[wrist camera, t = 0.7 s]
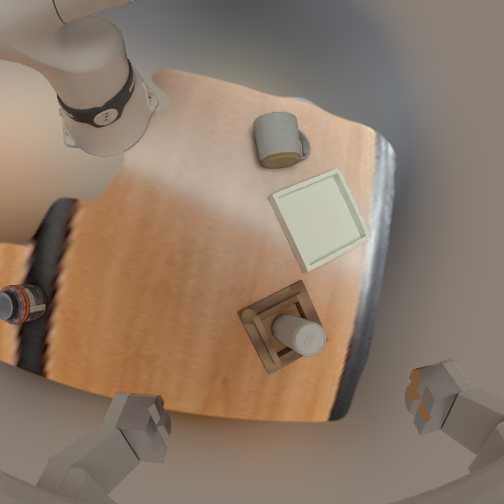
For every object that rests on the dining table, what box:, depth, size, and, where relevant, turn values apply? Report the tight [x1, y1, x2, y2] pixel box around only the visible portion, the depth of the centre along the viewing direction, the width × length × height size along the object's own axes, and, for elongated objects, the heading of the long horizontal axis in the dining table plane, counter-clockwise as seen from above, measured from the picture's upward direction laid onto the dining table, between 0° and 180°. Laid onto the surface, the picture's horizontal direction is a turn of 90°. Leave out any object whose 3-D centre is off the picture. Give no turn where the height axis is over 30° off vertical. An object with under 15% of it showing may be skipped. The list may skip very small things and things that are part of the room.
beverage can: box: [272, 314, 326, 356], centre depth 46 cm, size 5×5×12 cm
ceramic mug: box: [253, 112, 310, 168], centre depth 51 cm, size 11×8×8 cm
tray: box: [268, 168, 371, 272], centre depth 54 cm, size 14×14×3 cm
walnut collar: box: [238, 280, 329, 374], centre depth 51 cm, size 12×12×2 cm
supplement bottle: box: [0, 285, 47, 325], centre depth 38 cm, size 6×6×11 cm
